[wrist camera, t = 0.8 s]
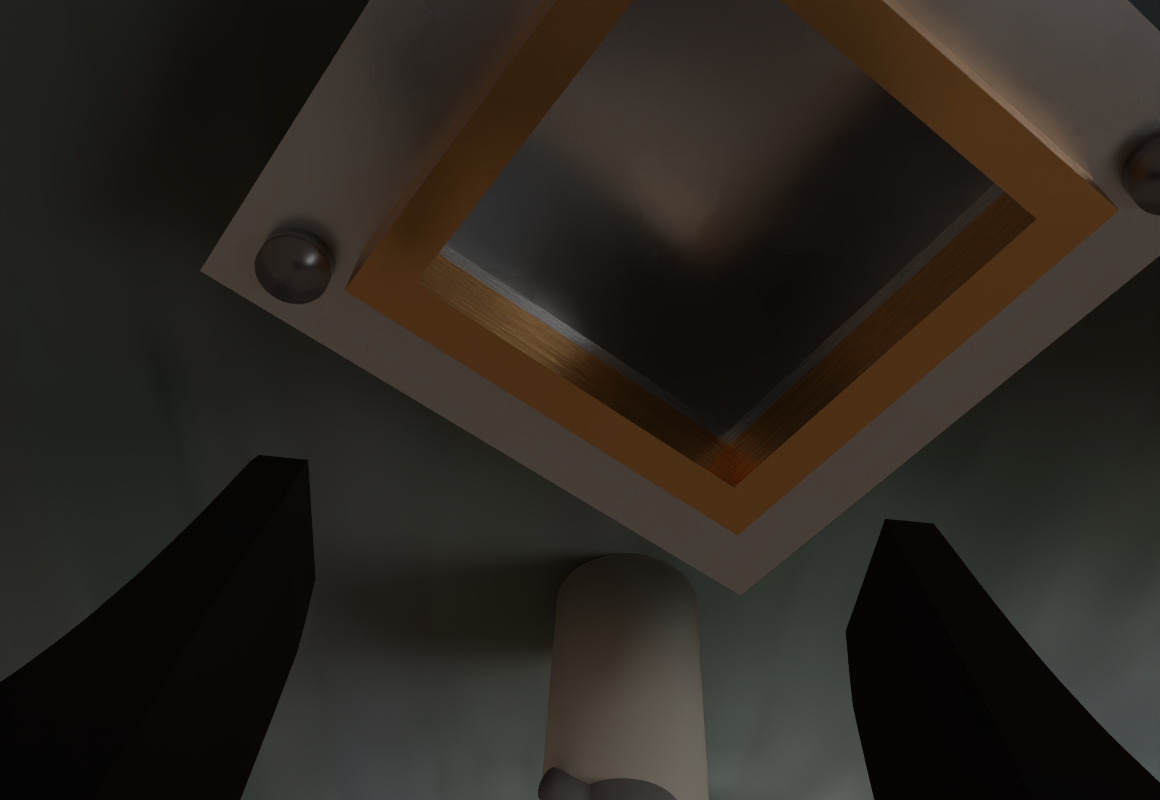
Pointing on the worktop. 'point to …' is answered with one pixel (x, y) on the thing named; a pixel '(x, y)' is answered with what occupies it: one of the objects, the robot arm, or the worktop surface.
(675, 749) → the canister
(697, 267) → the housing
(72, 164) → the worktop surface
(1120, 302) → the worktop surface
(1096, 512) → the worktop surface
